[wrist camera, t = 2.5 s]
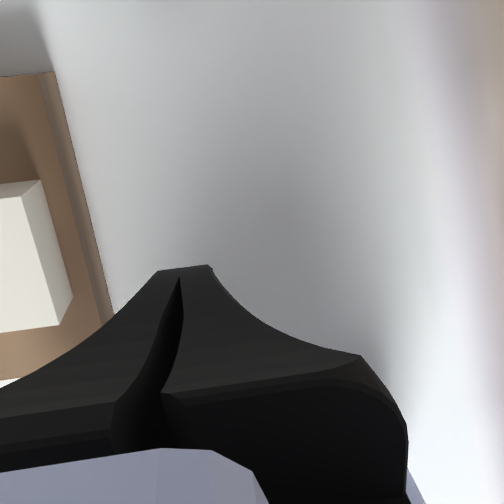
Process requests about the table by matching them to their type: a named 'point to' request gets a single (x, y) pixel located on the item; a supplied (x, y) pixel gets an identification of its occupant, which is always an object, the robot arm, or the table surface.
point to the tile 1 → (29, 261)
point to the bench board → (62, 214)
